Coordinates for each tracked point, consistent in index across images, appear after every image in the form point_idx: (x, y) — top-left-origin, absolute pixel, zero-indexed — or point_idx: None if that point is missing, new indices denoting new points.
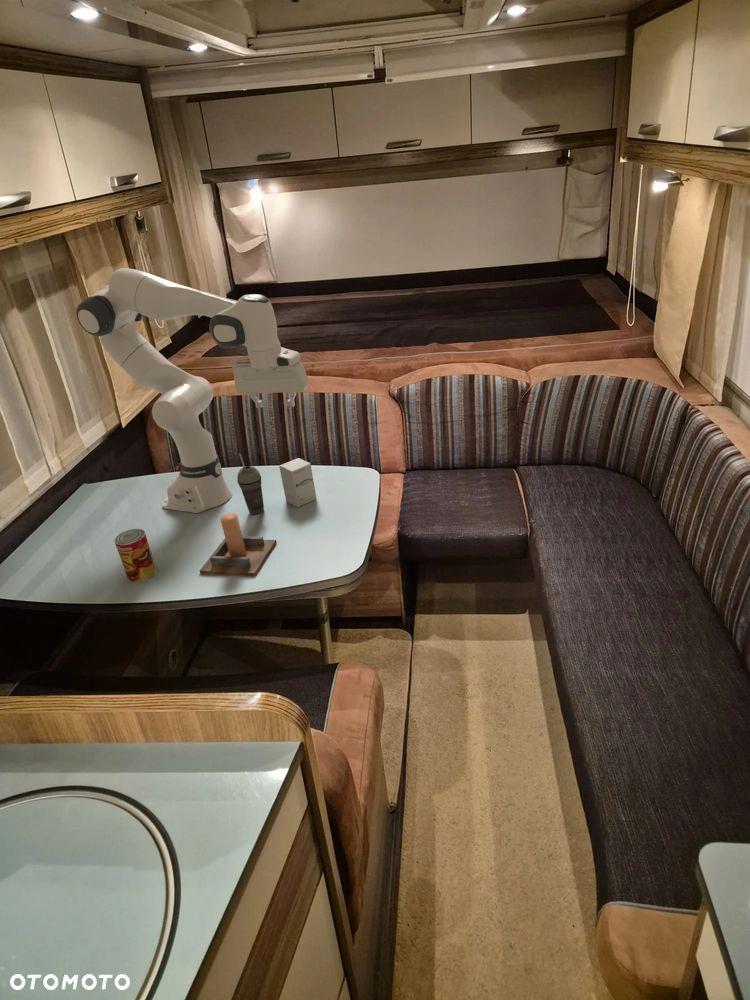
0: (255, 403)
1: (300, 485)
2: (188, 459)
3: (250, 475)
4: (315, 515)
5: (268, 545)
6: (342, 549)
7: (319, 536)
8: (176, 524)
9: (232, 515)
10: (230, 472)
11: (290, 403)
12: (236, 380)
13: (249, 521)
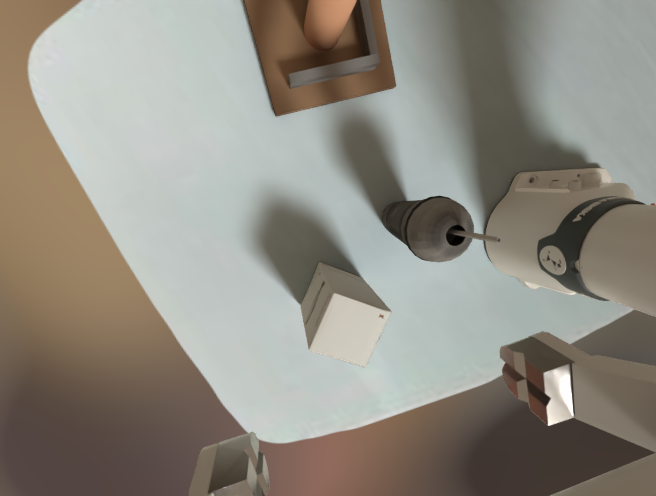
0: (577, 350)
1: (318, 291)
2: (651, 206)
3: (427, 217)
4: (261, 246)
5: (278, 88)
6: (107, 136)
7: (196, 170)
8: (536, 120)
9: None
10: None
11: (214, 469)
12: None
13: (390, 179)
